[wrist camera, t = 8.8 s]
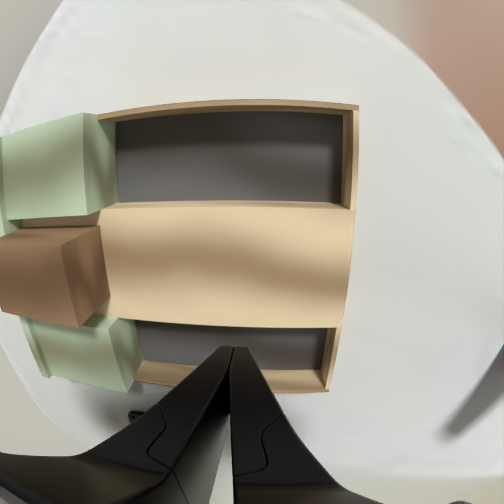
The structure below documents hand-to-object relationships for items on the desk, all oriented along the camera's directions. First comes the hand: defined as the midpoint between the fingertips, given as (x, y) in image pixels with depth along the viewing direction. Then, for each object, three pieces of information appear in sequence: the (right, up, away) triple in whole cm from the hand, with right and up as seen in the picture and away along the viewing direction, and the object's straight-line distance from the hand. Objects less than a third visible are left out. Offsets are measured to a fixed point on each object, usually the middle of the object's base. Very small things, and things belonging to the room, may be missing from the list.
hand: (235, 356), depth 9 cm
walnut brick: (-12, +3, +8) cm, 14 cm away
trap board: (-5, +3, +10) cm, 12 cm away
